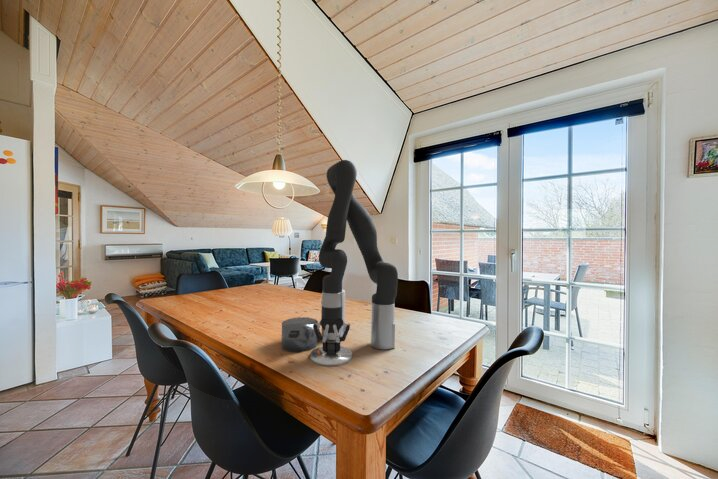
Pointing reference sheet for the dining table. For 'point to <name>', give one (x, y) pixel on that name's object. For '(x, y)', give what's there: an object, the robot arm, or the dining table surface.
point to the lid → (331, 355)
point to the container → (332, 335)
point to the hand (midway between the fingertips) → (331, 351)
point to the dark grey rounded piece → (299, 334)
